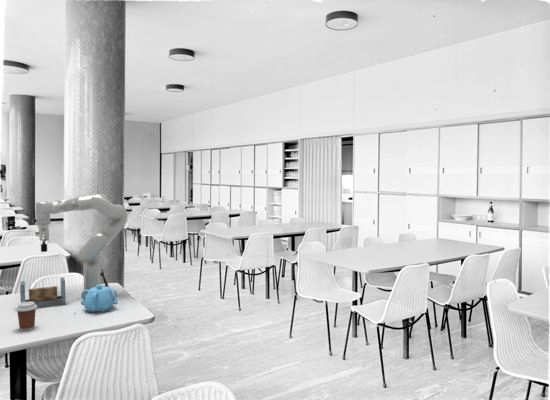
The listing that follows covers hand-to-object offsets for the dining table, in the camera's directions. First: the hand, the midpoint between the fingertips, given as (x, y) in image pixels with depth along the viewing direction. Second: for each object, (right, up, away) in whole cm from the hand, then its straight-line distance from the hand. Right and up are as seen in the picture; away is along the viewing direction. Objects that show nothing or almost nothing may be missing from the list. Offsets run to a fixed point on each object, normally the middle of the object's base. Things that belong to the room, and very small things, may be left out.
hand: (44, 250), depth 267 cm
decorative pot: (+42, -30, -23) cm, 57 cm away
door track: (+8, -29, -16) cm, 34 cm away
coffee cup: (+19, -32, -52) cm, 64 cm away
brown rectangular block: (+8, -28, -16) cm, 34 cm away
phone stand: (+25, -27, +24) cm, 44 cm away
